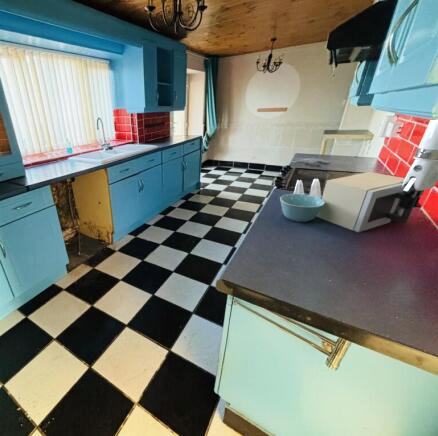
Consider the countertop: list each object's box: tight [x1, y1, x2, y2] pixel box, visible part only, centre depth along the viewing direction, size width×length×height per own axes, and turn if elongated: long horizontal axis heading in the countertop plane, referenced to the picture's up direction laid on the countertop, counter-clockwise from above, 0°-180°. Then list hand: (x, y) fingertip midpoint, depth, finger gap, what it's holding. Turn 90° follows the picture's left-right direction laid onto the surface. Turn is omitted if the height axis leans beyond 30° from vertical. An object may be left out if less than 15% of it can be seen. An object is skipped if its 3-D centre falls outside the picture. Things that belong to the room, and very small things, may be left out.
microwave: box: [316, 171, 413, 231], centre depth 94 cm, size 16×26×16 cm, turn 110°
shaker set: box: [293, 178, 322, 199], centre depth 116 cm, size 12×4×11 cm, turn 60°
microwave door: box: [353, 183, 419, 233], centre depth 85 cm, size 7×19×16 cm, turn 111°
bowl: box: [279, 193, 325, 223], centre depth 99 cm, size 16×16×8 cm
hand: (406, 206), depth 85 cm, fingers closed
